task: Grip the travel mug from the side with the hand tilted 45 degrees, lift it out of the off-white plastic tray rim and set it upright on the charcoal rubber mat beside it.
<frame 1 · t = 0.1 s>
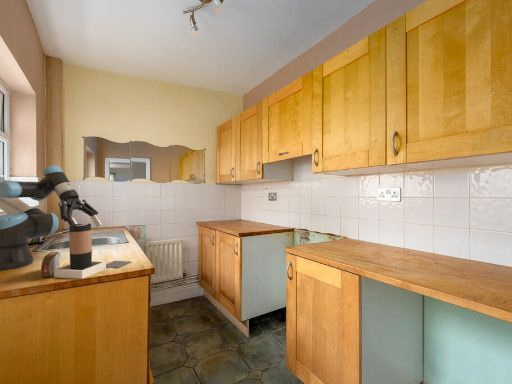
hand: (89, 228, 126), 15 cm above the worktop, tool tilted 35°, fingers open, 13 cm apart
brown arched piece: (51, 274, 106), on the worktop
mat: (116, 264, 118), on the worktop
tray rim: (81, 272, 107), on the worktop
travel mug: (81, 273, 107), resting in tray rim
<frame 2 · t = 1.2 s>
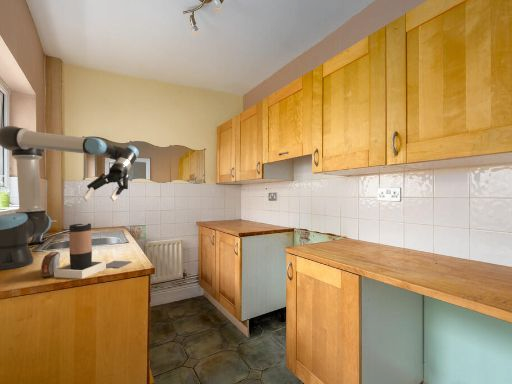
hand: (98, 199, 117), 30 cm above the worktop, tool tilted 45°, fingers open, 13 cm apart
nothing on the worktop moved.
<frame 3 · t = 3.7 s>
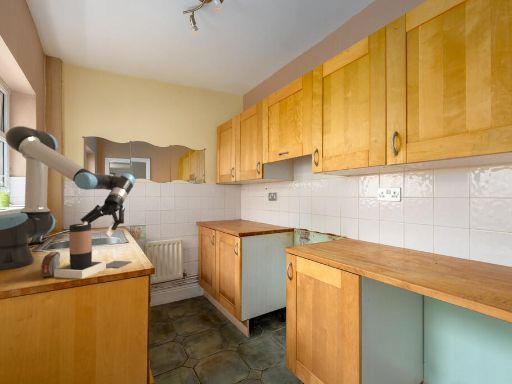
hand: (93, 235, 111), 15 cm above the worktop, tool tilted 45°, fingers open, 13 cm apart
nothing on the worktop moved.
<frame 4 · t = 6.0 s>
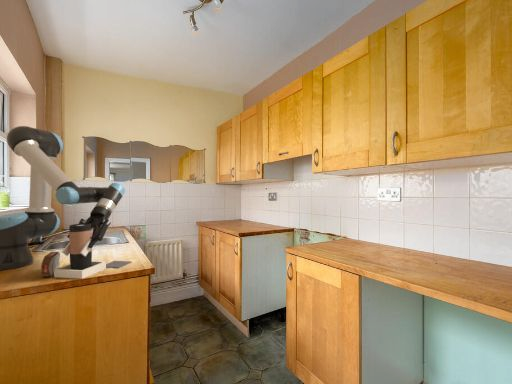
hand: (73, 254, 103), 9 cm above the worktop, tool tilted 45°, fingers closed on travel mug, 7 cm apart
travel mug: (81, 273, 107), resting in tray rim, touching gripper
everything else where it was.
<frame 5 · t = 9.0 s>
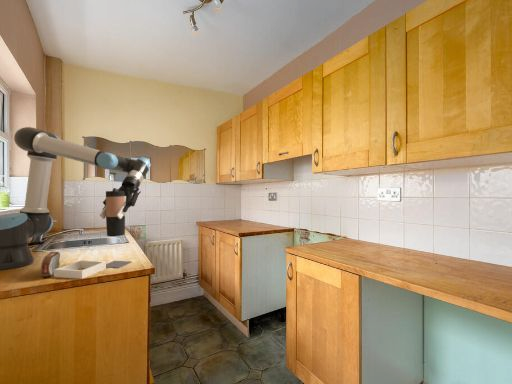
hand: (110, 217, 114), 22 cm above the worktop, tool tilted 45°, fingers closed on travel mug, 7 cm apart
travel mug: (116, 235, 117), point 13 cm above the worktop, touching gripper
everything else where it was.
when the fingers open (10 cm above the worktop, at t = 12.0 s): travel mug drops 1 cm, resting on mat.
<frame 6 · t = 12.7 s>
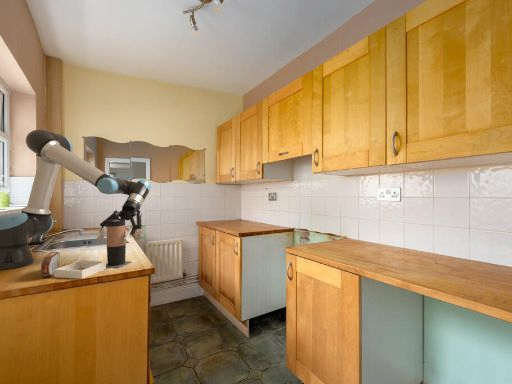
hand: (112, 240, 115), 12 cm above the worktop, tool tilted 45°, fingers open, 13 cm apart
travel mug: (116, 264, 118), resting on mat
everything else where it was.
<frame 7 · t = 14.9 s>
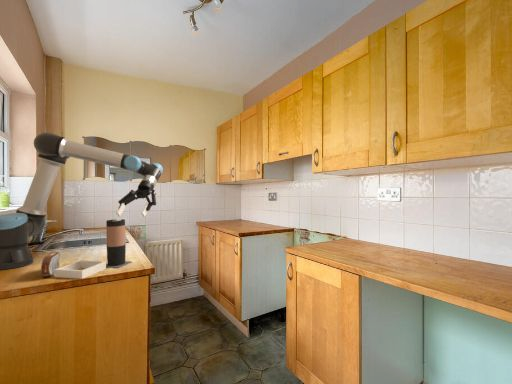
hand: (130, 214, 128), 22 cm above the worktop, tool tilted 45°, fingers open, 13 cm apart
nothing on the worktop moved.
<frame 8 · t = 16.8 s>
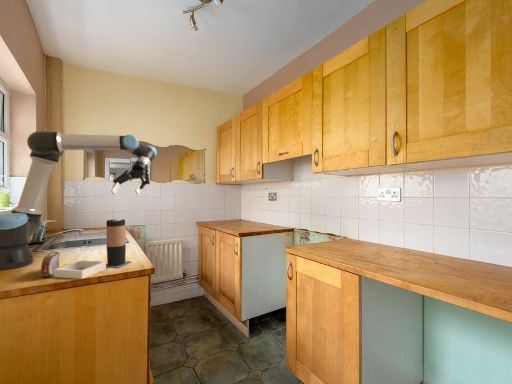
hand: (124, 192, 132), 33 cm above the worktop, tool tilted 45°, fingers open, 13 cm apart
nothing on the worktop moved.
at the end: travel mug inside the target area on the mat (0.0 cm from its centre), point 0.2 cm above the mat's base; travel mug tilted 0°; the gripper is holding nothing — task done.
